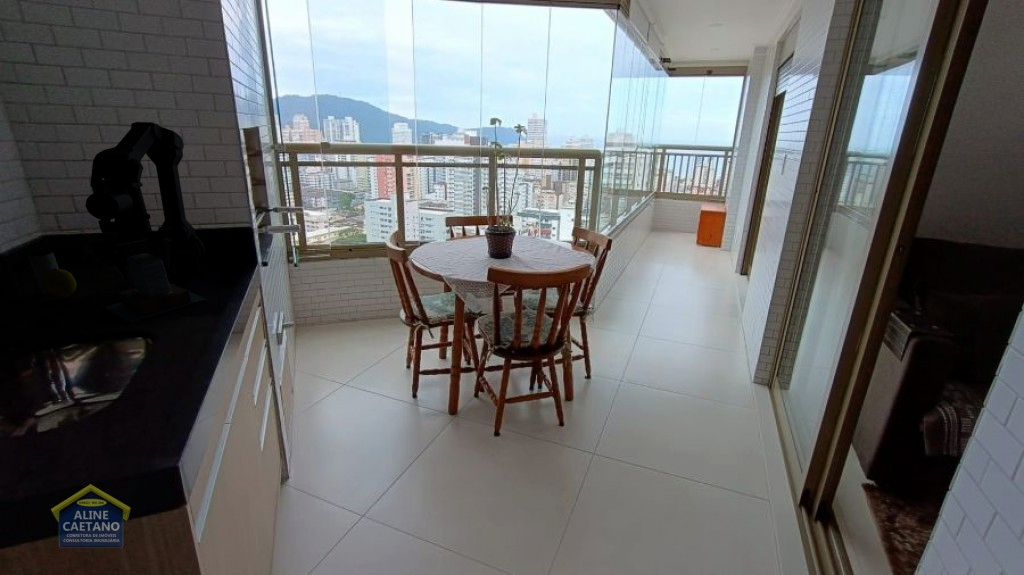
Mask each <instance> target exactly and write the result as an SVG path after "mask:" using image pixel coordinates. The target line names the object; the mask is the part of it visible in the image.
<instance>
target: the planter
mask: <svg viewBox="0 0 1024 575" xmlns="http://www.w3.org/2000/svg"><path fill="white" fill-rule="evenodd" d="M27 257H28V259H29V262H30V265H31V268H32V270H33V272H34V275H35V278H36V281H37V282H38V285H39V288H40V291H41V293H42V294H44V295H52V294H51V293H49V292H48V290H47V289H46V287H45V283H44V278H45V275H46V274H47V273H48V272H49V271H51V270H53V269H54V268H58V269H60V268H59V266H58V263H57V259H56V256H55V254H54V251H52V250H40V251H33V252H30V253H28V254H27Z"/></svg>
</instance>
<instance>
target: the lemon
mask: <svg viewBox="0 0 1024 575" xmlns="http://www.w3.org/2000/svg"><path fill="white" fill-rule="evenodd" d="M44 283H45V287H46V289H47V290H48V292H49V293H51V294H50V295H52V296H55V297H59V298H62V299H67V298H69V297H70V295H72V294H74V292H75V291H76V290H77V280H76V279H75V277H74V276H73V274H72V273H71V272H69V271H68V270H65V269H62V268H59V269H58V268H54V269H53V270H51V271H49V272H48V273H47V274H46V275H45V278H44Z"/></svg>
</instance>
